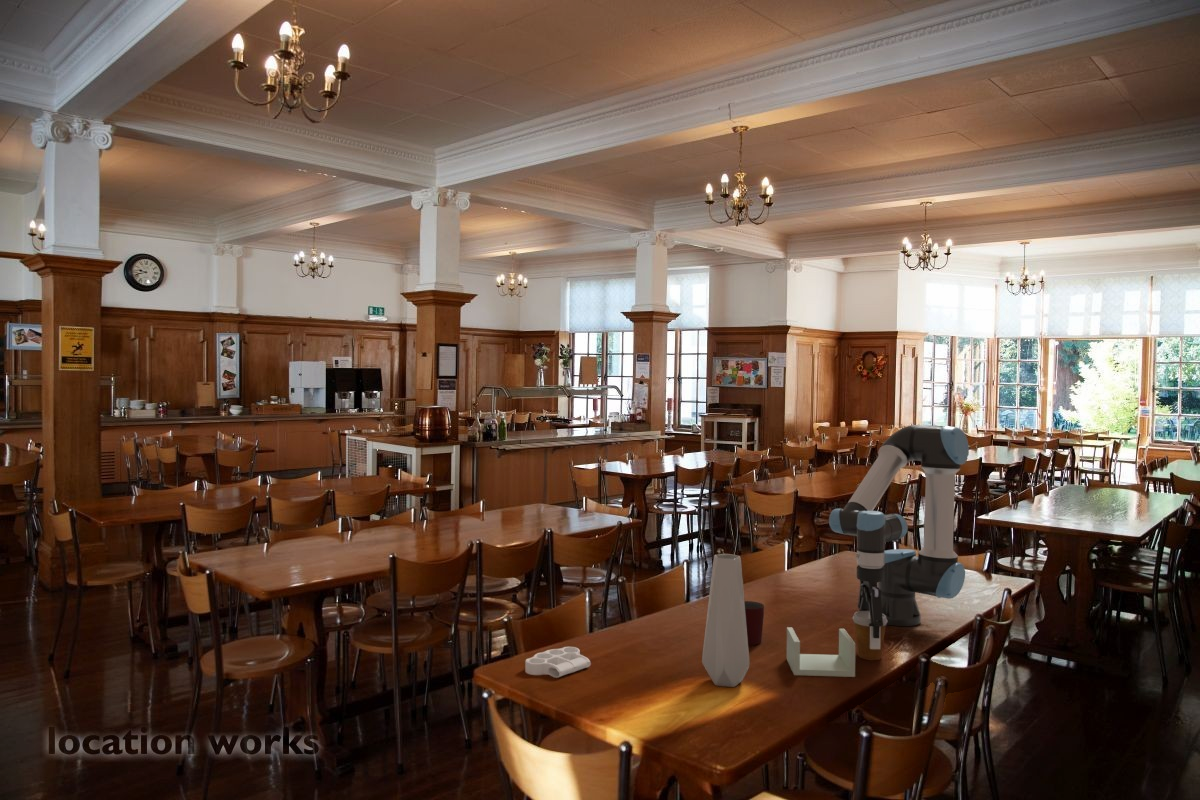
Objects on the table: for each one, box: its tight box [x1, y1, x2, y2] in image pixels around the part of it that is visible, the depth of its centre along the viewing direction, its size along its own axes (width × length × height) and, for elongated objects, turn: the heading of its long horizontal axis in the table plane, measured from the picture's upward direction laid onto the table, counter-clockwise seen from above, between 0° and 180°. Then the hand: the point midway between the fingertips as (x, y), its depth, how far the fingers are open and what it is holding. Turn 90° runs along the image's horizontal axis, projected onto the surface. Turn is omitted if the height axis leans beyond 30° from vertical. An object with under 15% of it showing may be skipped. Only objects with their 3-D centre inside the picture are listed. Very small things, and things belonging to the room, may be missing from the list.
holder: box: [786, 626, 856, 678], centre depth 224 cm, size 16×13×9 cm
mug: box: [744, 600, 765, 646], centre depth 246 cm, size 12×9×11 cm
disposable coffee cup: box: [852, 610, 888, 661], centre depth 234 cm, size 10×10×12 cm
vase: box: [701, 553, 750, 688], centre depth 213 cm, size 12×12×33 cm
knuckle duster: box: [524, 646, 592, 679], centre depth 224 cm, size 3×18×15 cm
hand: (869, 642), depth 234 cm, fingers open, 11 cm apart
